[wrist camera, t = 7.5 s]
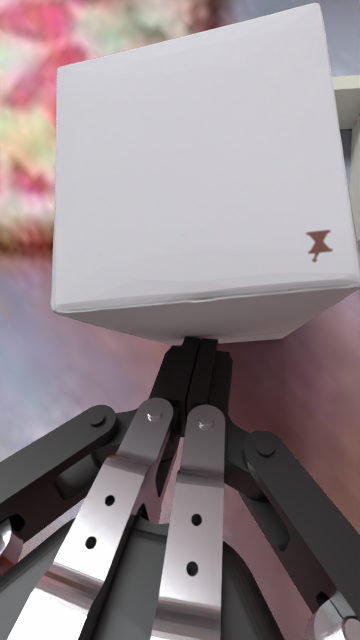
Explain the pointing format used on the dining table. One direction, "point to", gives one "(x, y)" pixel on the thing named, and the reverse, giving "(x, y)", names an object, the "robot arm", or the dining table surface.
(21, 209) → the dining table surface
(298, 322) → the supplement box
